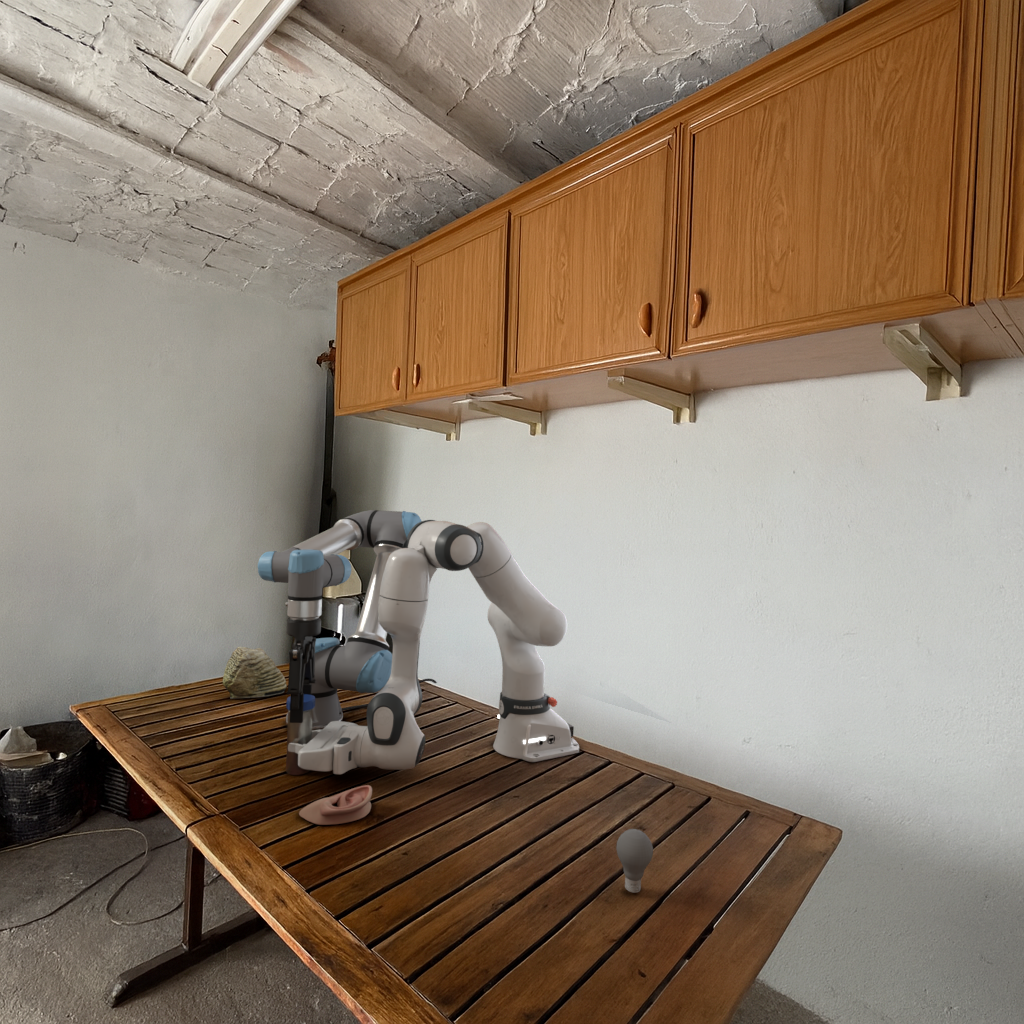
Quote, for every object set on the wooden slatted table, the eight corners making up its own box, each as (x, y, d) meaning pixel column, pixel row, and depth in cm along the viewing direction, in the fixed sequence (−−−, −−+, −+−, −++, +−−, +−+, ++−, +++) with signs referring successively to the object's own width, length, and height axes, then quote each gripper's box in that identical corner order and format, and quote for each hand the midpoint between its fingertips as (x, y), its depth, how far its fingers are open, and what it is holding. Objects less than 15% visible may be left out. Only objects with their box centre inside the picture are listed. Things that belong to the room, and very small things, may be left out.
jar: (302, 763, 150) (304, 696, 150) (315, 770, 147) (318, 701, 146) (281, 770, 146) (283, 701, 145) (294, 777, 142) (297, 706, 142)
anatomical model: (291, 800, 123) (320, 775, 134) (290, 820, 123) (320, 794, 134) (354, 810, 120) (379, 784, 132) (353, 830, 121) (378, 803, 132)
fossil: (218, 695, 195) (220, 647, 195) (278, 685, 208) (279, 640, 207) (228, 703, 189) (230, 653, 188) (289, 692, 201) (290, 645, 201)
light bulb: (610, 879, 108) (613, 822, 108) (644, 879, 109) (647, 822, 109) (619, 902, 102) (622, 840, 102) (655, 901, 103) (658, 840, 103)
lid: (302, 713, 142) (302, 704, 142) (280, 708, 144) (280, 699, 144) (320, 705, 148) (321, 696, 147) (299, 701, 150) (299, 692, 150)
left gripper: (299, 609, 155) (295, 703, 155) (274, 624, 136) (270, 731, 136) (330, 610, 155) (326, 704, 156) (309, 626, 136) (305, 732, 137)
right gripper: (368, 716, 155) (314, 712, 156) (338, 749, 135) (276, 743, 136) (367, 742, 155) (313, 737, 156) (337, 778, 135) (275, 772, 136)
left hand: (300, 716), depth 146 cm, fingers closed on lid, 6 cm apart
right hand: (295, 740), depth 146 cm, fingers closed on jar, 5 cm apart
